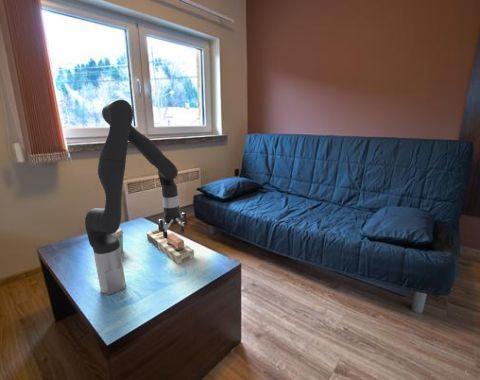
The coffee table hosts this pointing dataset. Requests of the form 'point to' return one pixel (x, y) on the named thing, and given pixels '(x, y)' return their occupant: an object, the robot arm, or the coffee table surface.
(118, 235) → the coffee cup
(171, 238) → the pinkish brown rectangular block
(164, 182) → the robot arm
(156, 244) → the rail
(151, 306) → the coffee table surface
